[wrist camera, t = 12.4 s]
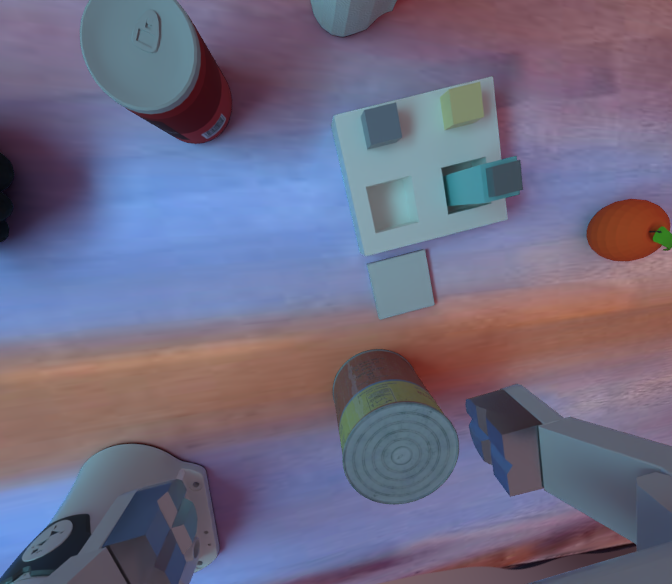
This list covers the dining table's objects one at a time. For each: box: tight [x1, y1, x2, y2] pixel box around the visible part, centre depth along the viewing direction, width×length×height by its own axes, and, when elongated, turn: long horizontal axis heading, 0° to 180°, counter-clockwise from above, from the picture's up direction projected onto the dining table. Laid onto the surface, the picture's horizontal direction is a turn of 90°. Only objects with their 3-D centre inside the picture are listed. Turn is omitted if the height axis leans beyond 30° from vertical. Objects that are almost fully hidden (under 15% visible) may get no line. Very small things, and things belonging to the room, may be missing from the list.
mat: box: [367, 249, 435, 319], centre depth 38 cm, size 7×7×1 cm
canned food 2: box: [333, 349, 459, 504], centre depth 35 cm, size 11×11×12 cm
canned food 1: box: [80, 0, 232, 144], centre depth 26 cm, size 8×8×11 cm
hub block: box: [331, 76, 508, 256], centre depth 33 cm, size 14×16×6 cm
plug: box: [443, 156, 523, 206], centre depth 31 cm, size 3×3×10 cm
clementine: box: [587, 199, 672, 261], centre depth 35 cm, size 8×7×7 cm
